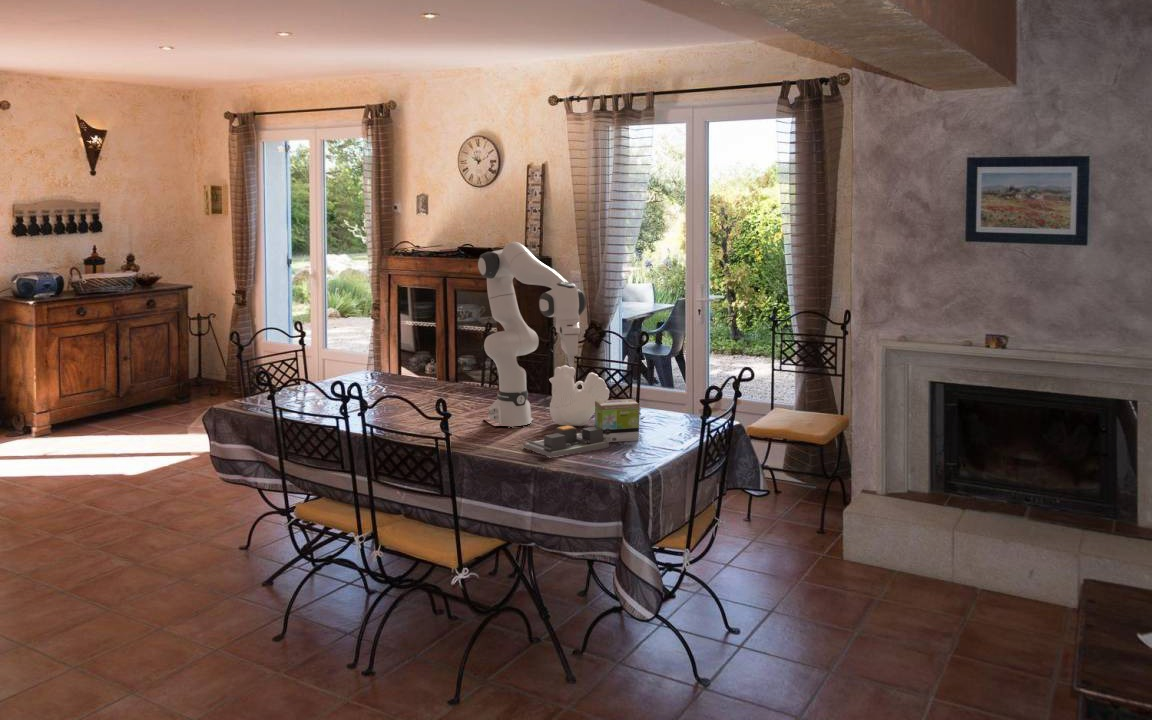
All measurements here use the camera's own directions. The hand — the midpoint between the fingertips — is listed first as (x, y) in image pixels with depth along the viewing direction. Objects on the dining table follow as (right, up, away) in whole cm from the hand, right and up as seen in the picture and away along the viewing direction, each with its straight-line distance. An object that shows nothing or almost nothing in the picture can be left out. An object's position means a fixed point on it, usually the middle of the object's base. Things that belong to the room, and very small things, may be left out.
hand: (569, 364), depth 366 cm
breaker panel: (-1, -31, +4) cm, 31 cm away
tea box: (+18, -29, +17) cm, 38 cm away
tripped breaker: (-1, -29, +4) cm, 29 cm away
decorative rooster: (+4, -25, +41) cm, 48 cm away
